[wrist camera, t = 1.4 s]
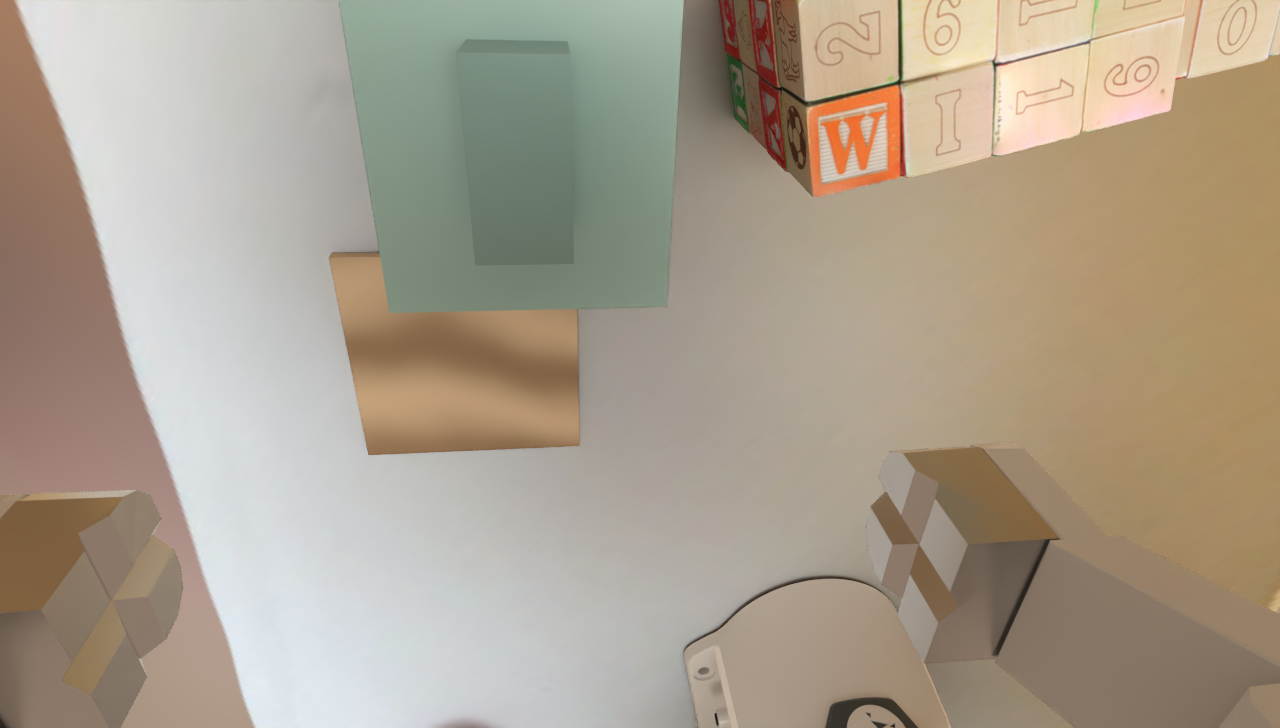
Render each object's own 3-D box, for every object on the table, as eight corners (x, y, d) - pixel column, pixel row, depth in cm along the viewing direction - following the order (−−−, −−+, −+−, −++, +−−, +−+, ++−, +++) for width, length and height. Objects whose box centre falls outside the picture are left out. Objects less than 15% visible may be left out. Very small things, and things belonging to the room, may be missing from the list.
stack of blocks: (1190, -135, 31) (1520, -175, 21) (1164, 20, 34) (1438, 55, 24) (712, -21, 31) (796, -3, 21) (731, 123, 35) (812, 203, 24)
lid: (660, 286, 28) (679, 345, 24) (398, 291, 27) (371, 354, 23) (677, -69, 22) (707, -72, 18) (341, -82, 21) (291, -88, 17)
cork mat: (578, 439, 43) (579, 445, 42) (370, 448, 41) (368, 454, 41) (575, 249, 37) (576, 254, 36) (332, 253, 35) (329, 257, 35)
